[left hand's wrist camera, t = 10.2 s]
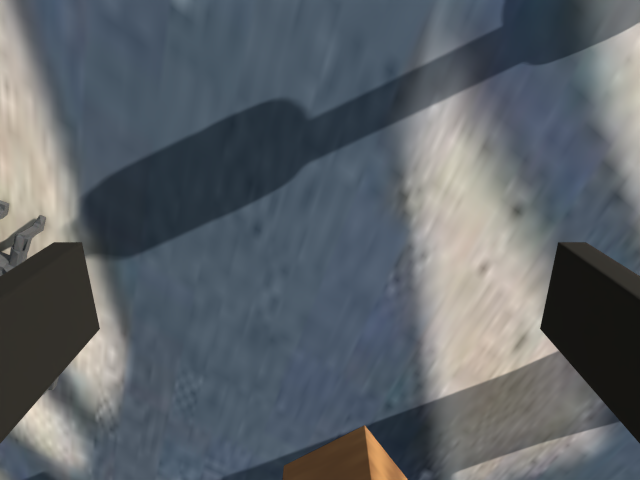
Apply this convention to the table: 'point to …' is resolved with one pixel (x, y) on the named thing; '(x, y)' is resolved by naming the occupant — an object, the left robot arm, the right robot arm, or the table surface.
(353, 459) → the box
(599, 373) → the left robot arm
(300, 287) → the table surface
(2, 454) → the table surface
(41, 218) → the toy
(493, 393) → the table surface
